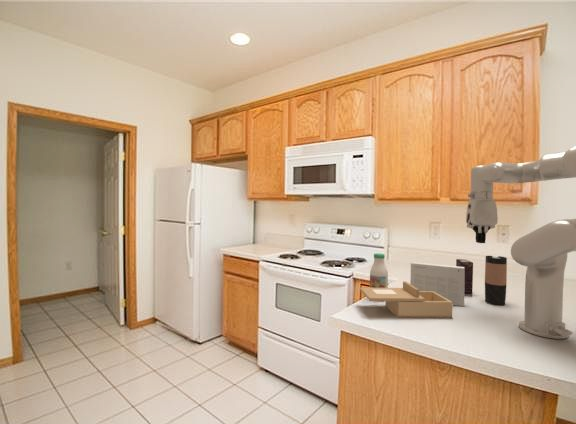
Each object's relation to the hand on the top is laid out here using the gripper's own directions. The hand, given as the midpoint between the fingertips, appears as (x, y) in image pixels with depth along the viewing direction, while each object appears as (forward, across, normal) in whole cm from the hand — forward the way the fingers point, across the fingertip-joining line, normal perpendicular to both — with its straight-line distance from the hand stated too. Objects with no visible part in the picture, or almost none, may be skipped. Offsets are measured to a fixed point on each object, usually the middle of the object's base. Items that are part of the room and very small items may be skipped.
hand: (480, 242), depth 118 cm
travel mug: (+27, +13, +9) cm, 32 cm away
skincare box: (+27, -11, +12) cm, 32 cm away
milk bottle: (+27, -36, +14) cm, 47 cm away
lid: (+21, -37, -2) cm, 42 cm away
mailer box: (+27, -26, -2) cm, 38 cm away
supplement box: (+27, +8, +23) cm, 37 cm away
